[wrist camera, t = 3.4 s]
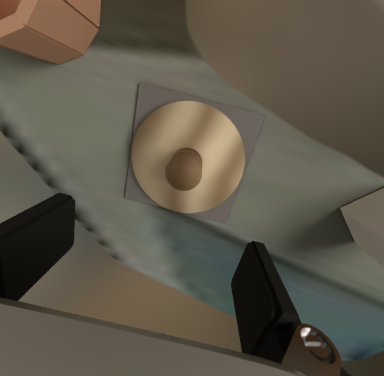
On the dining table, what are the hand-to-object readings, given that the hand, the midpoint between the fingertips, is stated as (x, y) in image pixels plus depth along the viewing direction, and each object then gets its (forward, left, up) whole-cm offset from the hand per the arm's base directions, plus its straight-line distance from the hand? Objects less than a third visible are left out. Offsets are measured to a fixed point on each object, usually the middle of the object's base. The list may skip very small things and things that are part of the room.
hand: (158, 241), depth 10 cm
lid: (0, 0, -18) cm, 18 cm away
